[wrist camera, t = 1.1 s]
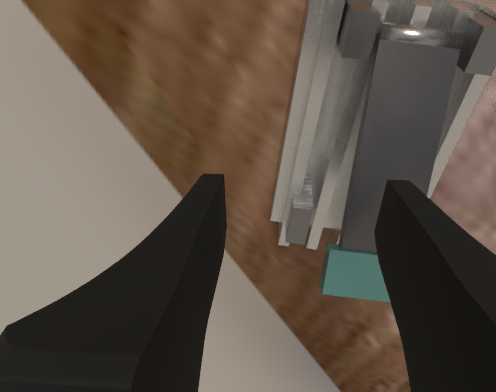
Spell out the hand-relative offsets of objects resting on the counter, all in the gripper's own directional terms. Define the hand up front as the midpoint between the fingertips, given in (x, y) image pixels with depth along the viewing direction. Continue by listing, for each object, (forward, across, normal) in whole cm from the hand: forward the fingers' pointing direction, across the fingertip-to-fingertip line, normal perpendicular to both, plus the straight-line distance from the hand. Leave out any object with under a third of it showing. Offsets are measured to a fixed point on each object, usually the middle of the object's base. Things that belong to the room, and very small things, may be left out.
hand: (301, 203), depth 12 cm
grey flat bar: (+5, -4, +2) cm, 6 cm away
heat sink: (+10, -4, +2) cm, 11 cm away
